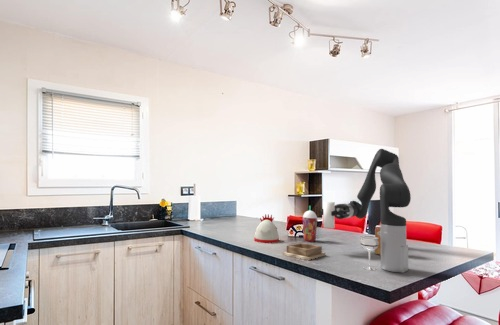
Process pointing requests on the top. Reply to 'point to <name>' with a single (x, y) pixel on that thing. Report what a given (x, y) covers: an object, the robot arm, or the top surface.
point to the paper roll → (328, 215)
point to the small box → (378, 235)
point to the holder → (304, 251)
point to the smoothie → (309, 225)
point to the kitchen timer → (266, 231)
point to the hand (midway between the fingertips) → (326, 213)
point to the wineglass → (369, 247)
